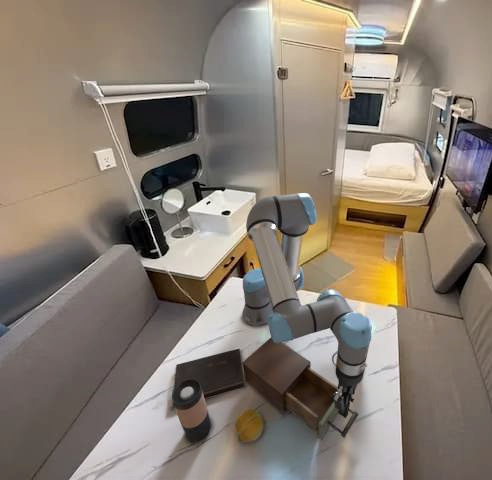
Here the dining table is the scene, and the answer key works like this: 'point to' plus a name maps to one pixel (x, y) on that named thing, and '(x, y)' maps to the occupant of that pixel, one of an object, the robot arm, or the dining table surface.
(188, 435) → the travel mug
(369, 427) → the dining table surface
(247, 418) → the bread roll
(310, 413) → the drawer
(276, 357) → the cabinet
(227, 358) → the hardcover book
